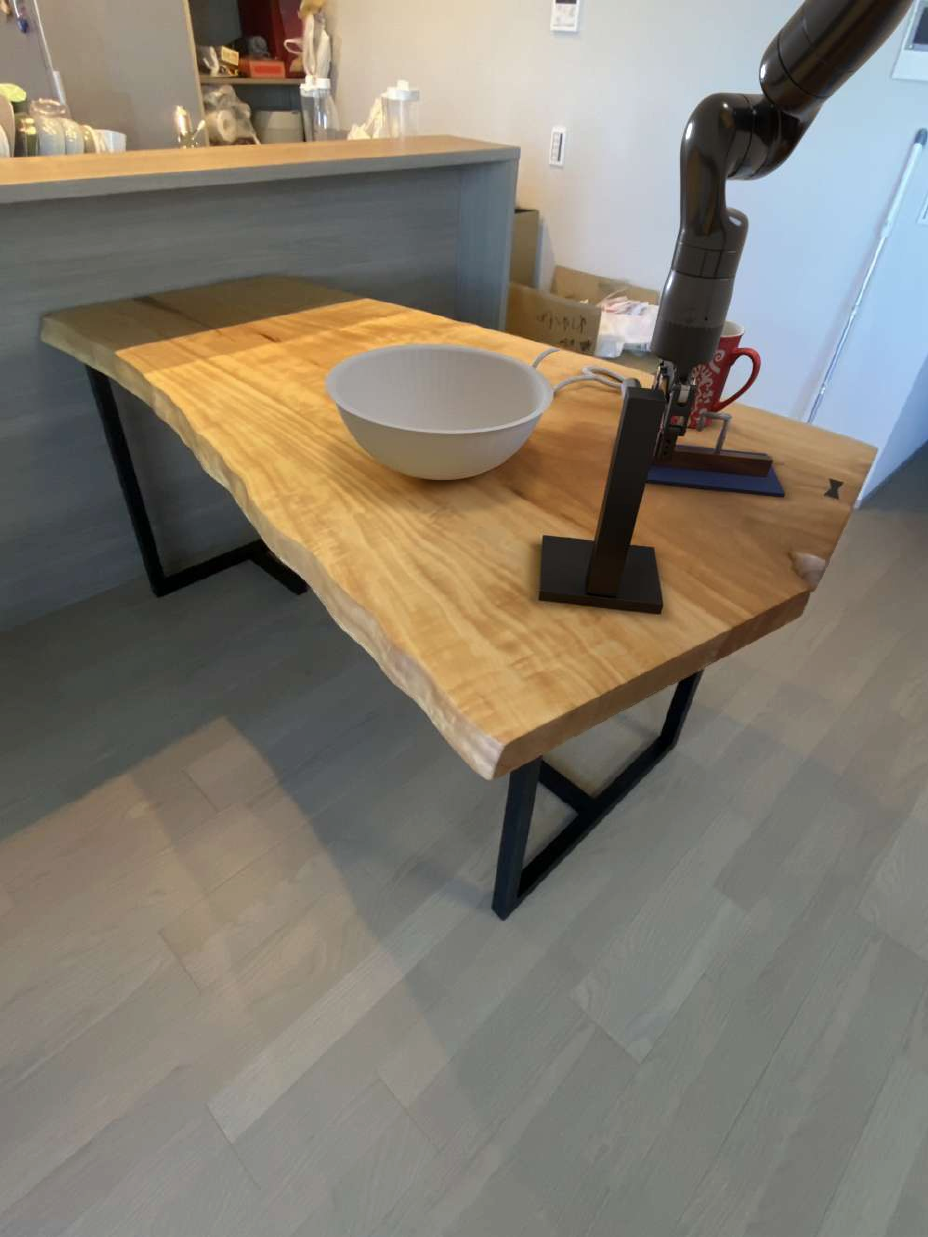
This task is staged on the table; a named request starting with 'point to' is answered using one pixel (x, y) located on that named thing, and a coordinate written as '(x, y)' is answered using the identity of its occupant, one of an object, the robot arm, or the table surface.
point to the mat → (717, 478)
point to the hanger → (718, 455)
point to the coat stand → (613, 523)
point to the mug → (720, 374)
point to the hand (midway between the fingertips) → (658, 445)
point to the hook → (586, 371)
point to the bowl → (438, 407)
